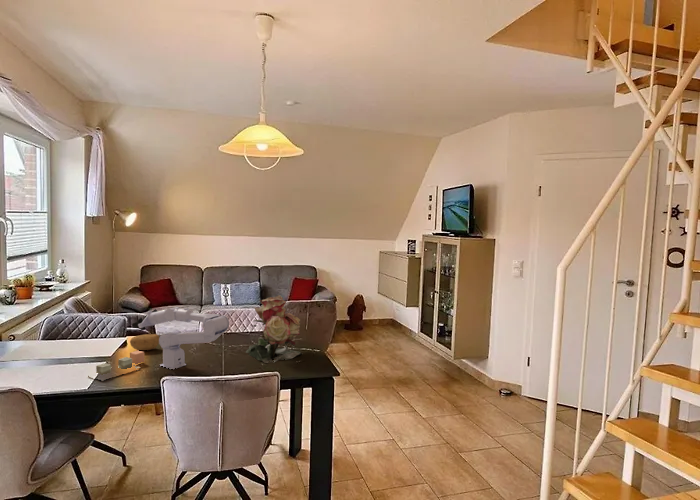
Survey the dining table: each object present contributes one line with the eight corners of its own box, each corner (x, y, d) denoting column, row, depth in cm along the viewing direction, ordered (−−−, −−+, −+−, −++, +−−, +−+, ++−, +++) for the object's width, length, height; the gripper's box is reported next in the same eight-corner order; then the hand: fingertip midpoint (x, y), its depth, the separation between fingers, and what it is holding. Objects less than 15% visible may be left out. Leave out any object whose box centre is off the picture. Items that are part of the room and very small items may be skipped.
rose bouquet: (268, 366, 210) (269, 303, 208) (240, 351, 232) (241, 294, 230) (313, 356, 226) (314, 298, 224) (283, 343, 249) (284, 289, 246)
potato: (130, 348, 231) (130, 333, 231) (160, 346, 236) (160, 331, 236) (128, 354, 222) (128, 338, 222) (159, 352, 227) (159, 336, 227)
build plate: (140, 369, 202) (140, 358, 201) (101, 381, 186) (101, 370, 185) (126, 365, 206) (126, 354, 206) (87, 377, 191) (87, 365, 190)
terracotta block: (144, 363, 210) (144, 352, 209) (135, 366, 206) (135, 354, 205) (138, 361, 212) (138, 350, 211) (129, 364, 208) (129, 352, 208)
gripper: (166, 303, 215) (147, 308, 220) (144, 316, 202) (124, 321, 207) (172, 316, 216) (153, 320, 221) (151, 330, 203) (130, 334, 209)
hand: (139, 321), depth 214 cm, fingers open, 7 cm apart
